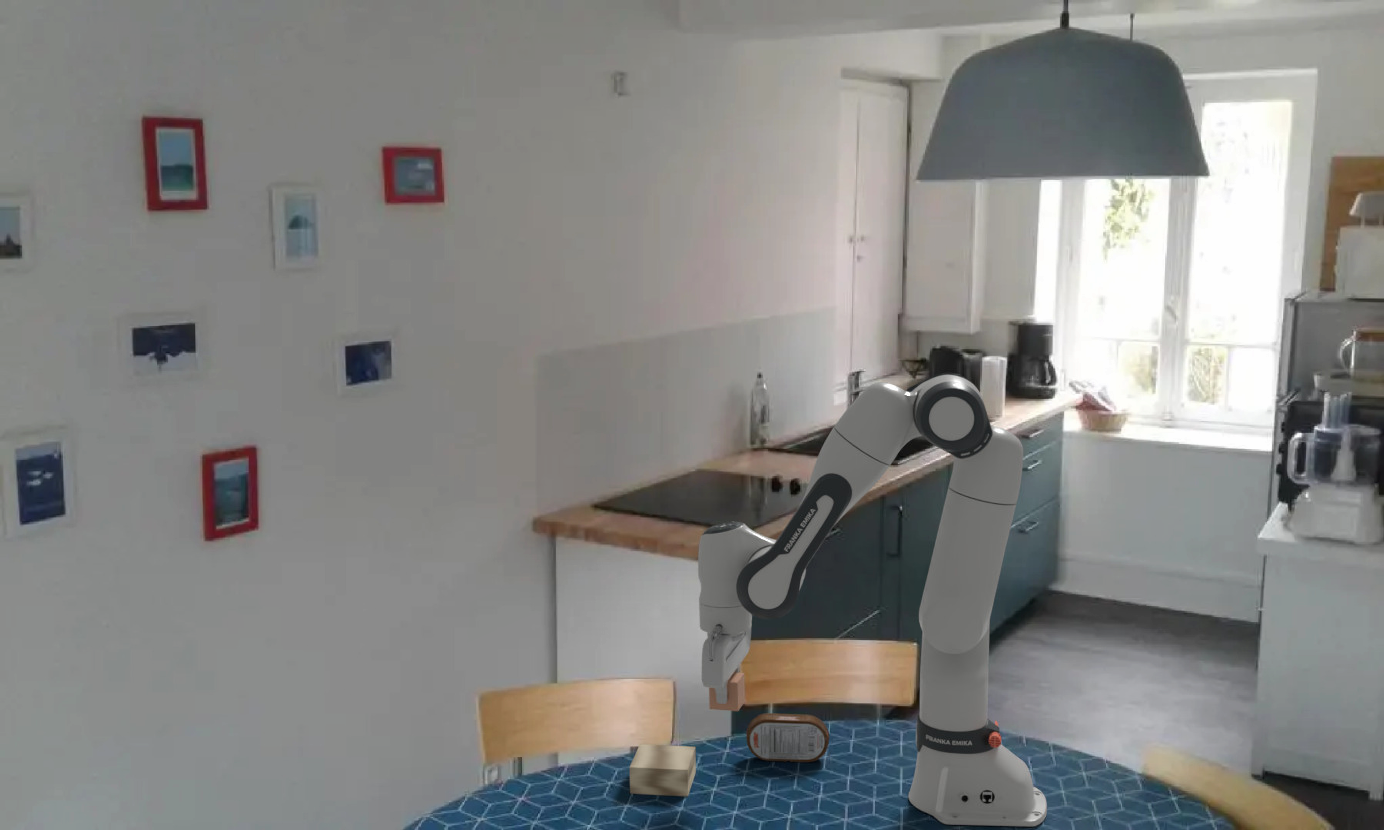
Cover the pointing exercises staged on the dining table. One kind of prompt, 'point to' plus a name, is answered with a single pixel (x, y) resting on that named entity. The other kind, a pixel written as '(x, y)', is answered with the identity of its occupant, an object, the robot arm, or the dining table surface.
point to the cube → (730, 694)
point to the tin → (787, 737)
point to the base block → (663, 770)
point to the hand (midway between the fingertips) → (727, 695)
